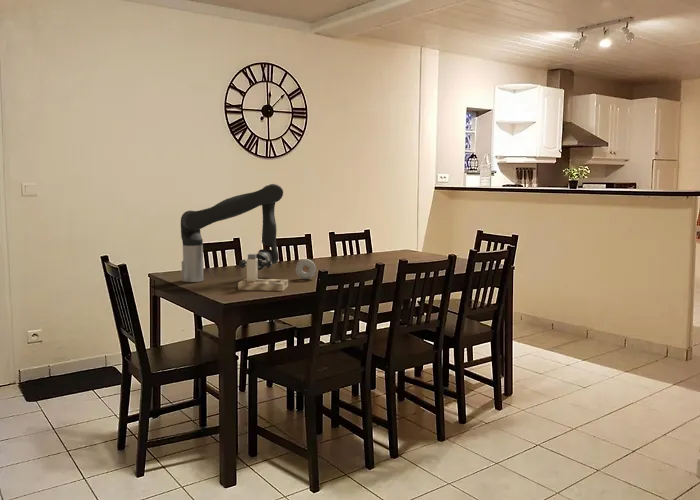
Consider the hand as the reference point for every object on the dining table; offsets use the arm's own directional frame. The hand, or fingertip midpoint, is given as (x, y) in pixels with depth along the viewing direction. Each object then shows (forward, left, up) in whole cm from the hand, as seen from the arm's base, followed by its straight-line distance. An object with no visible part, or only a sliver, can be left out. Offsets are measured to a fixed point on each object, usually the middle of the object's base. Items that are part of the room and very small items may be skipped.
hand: (252, 265), depth 281 cm
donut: (+20, +27, -10) cm, 35 cm away
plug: (0, 0, -10) cm, 10 cm away
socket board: (+5, 0, -10) cm, 11 cm away
